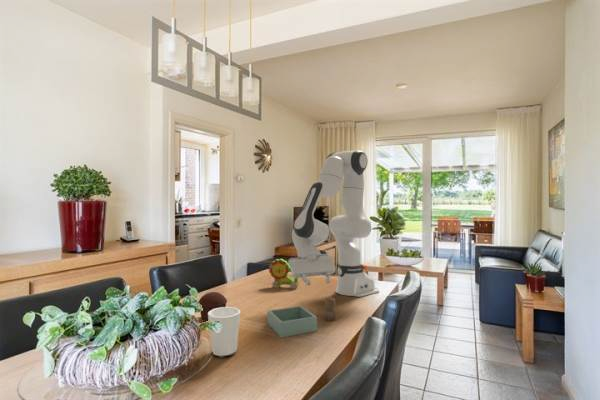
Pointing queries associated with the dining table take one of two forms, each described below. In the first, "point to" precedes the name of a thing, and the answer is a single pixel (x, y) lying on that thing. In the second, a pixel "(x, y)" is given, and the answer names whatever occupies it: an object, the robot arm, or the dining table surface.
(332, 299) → the walnut peg
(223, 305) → the muffin
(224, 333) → the cup
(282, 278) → the toy lion
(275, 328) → the bin
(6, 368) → the dining table surface
